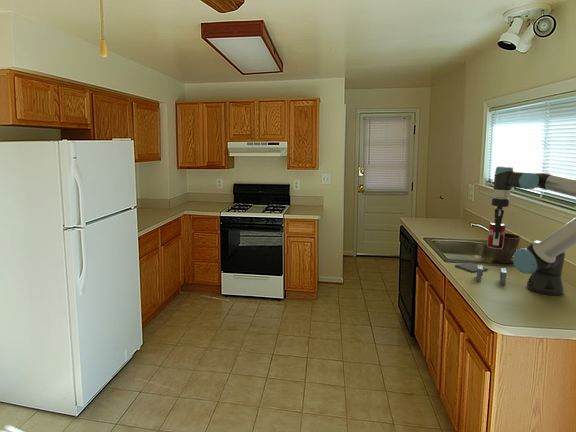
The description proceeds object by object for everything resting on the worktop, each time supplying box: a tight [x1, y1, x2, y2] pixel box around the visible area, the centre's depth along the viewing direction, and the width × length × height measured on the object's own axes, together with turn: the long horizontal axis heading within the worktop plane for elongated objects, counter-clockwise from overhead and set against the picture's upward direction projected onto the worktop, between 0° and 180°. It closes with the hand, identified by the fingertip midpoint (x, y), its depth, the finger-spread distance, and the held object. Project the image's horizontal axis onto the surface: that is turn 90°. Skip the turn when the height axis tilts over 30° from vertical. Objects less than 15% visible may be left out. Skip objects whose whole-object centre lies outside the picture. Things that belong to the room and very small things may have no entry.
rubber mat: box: [454, 262, 489, 274], centre depth 229 cm, size 12×12×1 cm
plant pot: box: [492, 232, 521, 264], centre depth 244 cm, size 15×15×16 cm
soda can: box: [486, 222, 506, 249], centre depth 205 cm, size 7×7×12 cm
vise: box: [476, 264, 508, 286], centre depth 208 cm, size 8×13×6 cm, turn 65°
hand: (495, 243), depth 205 cm, fingers closed on soda can, 7 cm apart
